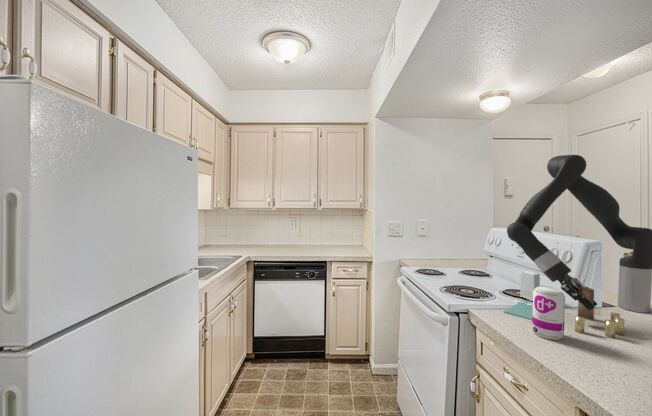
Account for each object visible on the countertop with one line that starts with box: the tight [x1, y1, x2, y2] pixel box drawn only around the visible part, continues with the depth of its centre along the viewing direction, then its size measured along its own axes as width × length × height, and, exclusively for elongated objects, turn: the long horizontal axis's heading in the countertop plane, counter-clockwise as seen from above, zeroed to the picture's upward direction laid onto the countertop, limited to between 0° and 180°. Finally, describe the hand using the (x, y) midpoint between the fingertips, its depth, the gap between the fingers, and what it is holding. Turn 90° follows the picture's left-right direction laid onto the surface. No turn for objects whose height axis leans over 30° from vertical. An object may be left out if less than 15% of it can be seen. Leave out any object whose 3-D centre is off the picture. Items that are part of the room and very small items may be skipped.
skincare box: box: [519, 270, 541, 302], centre depth 129 cm, size 6×4×12 cm
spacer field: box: [574, 306, 626, 339], centre depth 100 cm, size 19×11×5 cm, turn 129°
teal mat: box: [502, 301, 533, 321], centre depth 116 cm, size 20×13×1 cm, turn 129°
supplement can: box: [531, 285, 566, 341], centre depth 95 cm, size 8×8×15 cm
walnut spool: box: [577, 286, 595, 320], centre depth 104 cm, size 4×4×10 cm
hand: (593, 307), depth 102 cm, fingers closed on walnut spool, 4 cm apart
